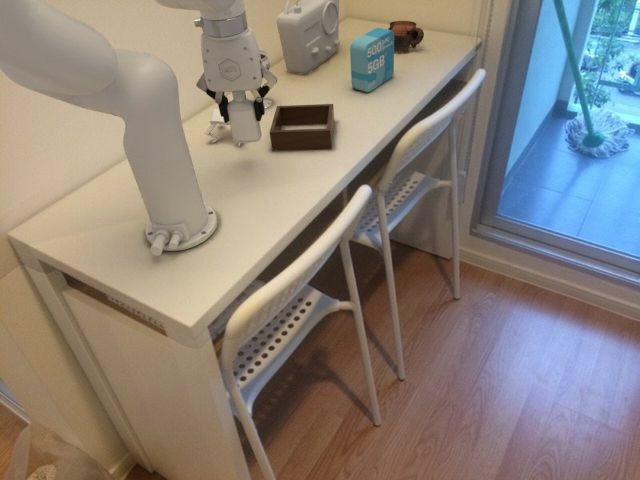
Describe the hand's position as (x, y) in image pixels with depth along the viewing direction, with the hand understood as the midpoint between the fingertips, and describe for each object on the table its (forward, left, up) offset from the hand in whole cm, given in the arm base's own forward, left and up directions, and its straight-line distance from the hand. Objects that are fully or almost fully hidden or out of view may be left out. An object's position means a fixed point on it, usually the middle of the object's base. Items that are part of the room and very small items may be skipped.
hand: (243, 117), depth 103 cm
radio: (+50, -9, -10) cm, 52 cm away
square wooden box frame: (+10, -10, -10) cm, 17 cm away
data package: (+35, -25, -10) cm, 44 cm away
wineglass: (+26, +2, -10) cm, 28 cm away
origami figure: (+10, +7, -10) cm, 16 cm away
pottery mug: (+57, -34, -10) cm, 67 cm away
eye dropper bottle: (0, 0, -5) cm, 5 cm away
